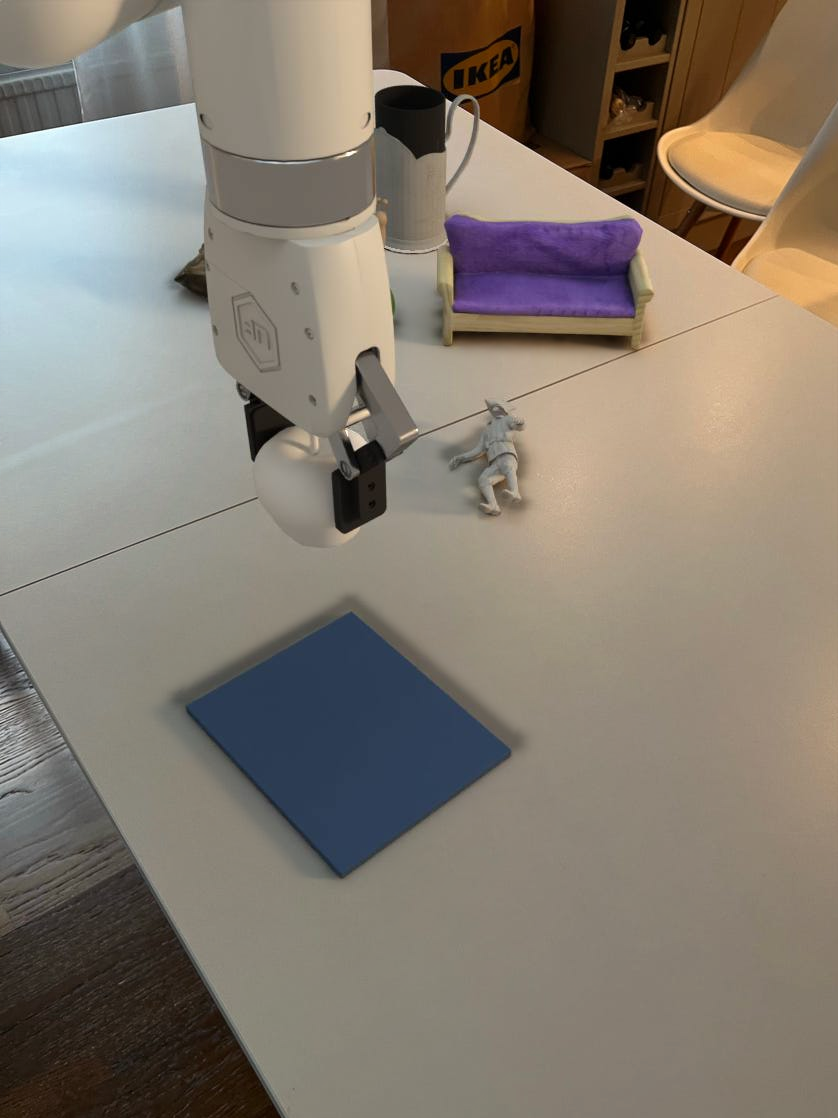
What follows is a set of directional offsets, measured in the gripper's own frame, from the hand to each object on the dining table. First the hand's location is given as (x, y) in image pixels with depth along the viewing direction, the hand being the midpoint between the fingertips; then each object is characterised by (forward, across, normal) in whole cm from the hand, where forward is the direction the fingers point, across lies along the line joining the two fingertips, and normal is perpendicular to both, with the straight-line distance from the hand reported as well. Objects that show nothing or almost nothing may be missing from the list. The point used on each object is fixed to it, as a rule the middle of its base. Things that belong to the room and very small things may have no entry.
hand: (317, 485), depth 59 cm
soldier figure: (+18, -10, +25) cm, 32 cm away
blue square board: (+17, +4, -2) cm, 18 cm away
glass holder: (+18, -49, +52) cm, 73 cm away
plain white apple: (+3, 0, 0) cm, 3 cm away
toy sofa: (+18, -25, +46) cm, 55 cm away
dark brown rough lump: (+18, -51, +26) cm, 60 cm away
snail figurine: (+18, -36, +32) cm, 52 cm away
